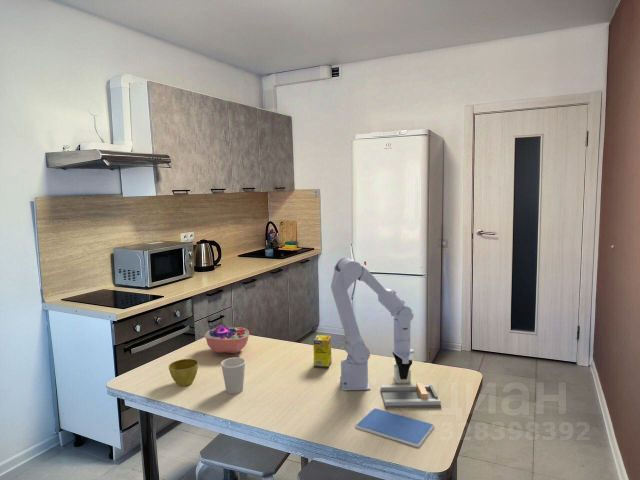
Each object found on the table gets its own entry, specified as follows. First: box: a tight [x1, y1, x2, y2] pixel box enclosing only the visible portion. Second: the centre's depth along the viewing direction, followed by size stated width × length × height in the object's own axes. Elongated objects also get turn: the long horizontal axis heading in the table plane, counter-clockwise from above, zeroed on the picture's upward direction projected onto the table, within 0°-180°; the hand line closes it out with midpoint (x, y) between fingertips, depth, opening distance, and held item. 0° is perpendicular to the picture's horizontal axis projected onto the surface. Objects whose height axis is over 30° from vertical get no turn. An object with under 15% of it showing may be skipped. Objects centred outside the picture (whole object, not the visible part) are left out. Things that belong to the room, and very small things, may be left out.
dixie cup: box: [220, 357, 247, 395], centre depth 151 cm, size 8×8×10 cm
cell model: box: [203, 324, 250, 354], centre depth 187 cm, size 17×20×11 cm
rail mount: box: [380, 383, 442, 409], centre depth 143 cm, size 17×13×2 cm
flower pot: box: [168, 358, 199, 387], centre depth 158 cm, size 10×10×7 cm
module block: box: [393, 363, 412, 384], centre depth 157 cm, size 5×5×4 cm
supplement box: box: [312, 334, 333, 369], centre depth 171 cm, size 6×6×11 cm
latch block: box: [415, 382, 428, 399], centre depth 143 cm, size 2×8×2 cm, turn 179°
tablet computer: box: [354, 408, 435, 448], centre depth 126 cm, size 19×13×1 cm, turn 56°
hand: (402, 375), depth 157 cm, fingers closed on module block, 5 cm apart
